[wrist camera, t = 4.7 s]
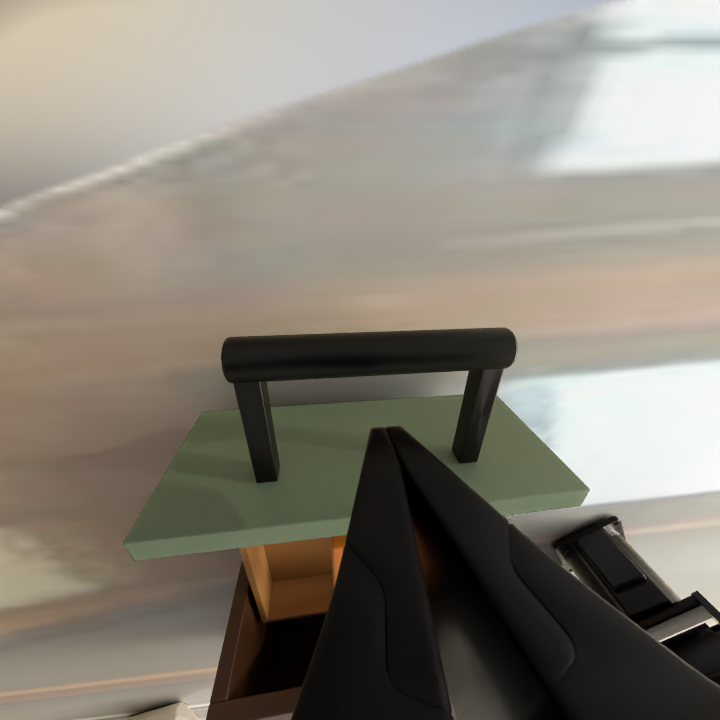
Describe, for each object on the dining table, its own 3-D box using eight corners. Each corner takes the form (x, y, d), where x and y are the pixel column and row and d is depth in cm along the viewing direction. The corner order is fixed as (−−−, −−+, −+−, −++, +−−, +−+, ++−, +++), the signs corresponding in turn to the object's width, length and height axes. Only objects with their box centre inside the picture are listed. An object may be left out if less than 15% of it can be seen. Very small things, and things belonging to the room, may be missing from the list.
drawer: (168, 301, 12) (17, 384, 6) (521, 294, 13) (672, 351, 8) (253, 577, 21) (229, 708, 16) (449, 551, 23) (491, 659, 18)
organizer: (247, 533, 21) (203, 730, 13) (451, 509, 23) (522, 667, 15) (275, 628, 28) (257, 791, 20) (427, 604, 30) (465, 743, 22)
